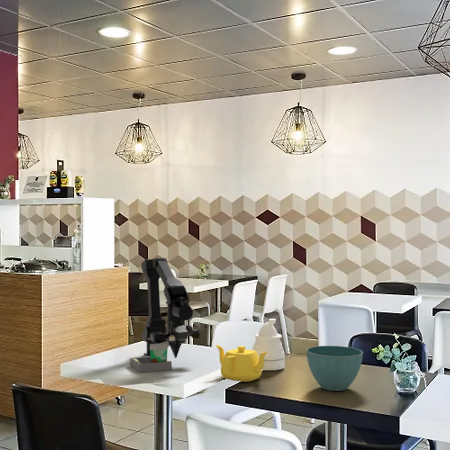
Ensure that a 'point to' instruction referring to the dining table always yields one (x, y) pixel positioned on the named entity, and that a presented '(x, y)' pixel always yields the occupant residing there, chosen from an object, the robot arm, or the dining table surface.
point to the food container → (159, 351)
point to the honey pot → (270, 346)
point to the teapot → (241, 364)
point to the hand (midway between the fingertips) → (175, 357)
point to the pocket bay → (149, 364)
